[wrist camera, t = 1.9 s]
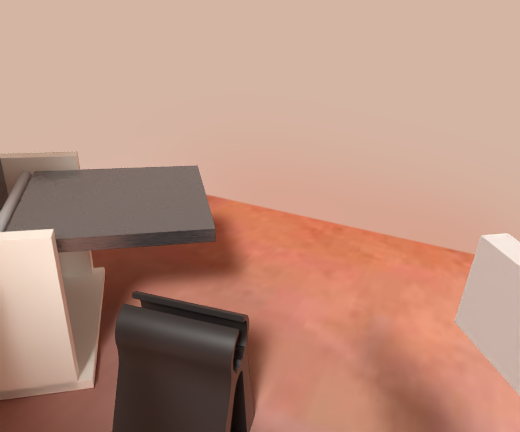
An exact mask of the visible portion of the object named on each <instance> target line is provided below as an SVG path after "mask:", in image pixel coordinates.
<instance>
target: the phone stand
mask: <svg viewBox="0 0 520 432" xmlns="http://www.w3.org/2000/svg"><path fill="white" fill-rule="evenodd" d="M132 298H135V299H139V300H140V301H141V306H142V308H141V307H137V306H132V305H128V304H123V306H122V308H121V310H120V313H119V316H118V319H117V323H116V330H115V340H116V345H117V348H118V355H119V369H118V379H117V390H116V400H115V410H114V421H113V431H112V432H249V431H250V428H251V425H252V422H253V419H254V413H255V412H254V404H253V395H252V387H251V379H250V370H249V362H248V353H247V341H248V330H249V318H248V315H244V314H240V313H235V312H231V311H226V310H221V309H217V308H212V307H207V306H203V305H198V304H194V303H189V302H184V301H180V300H175V299H171V298H166V297H161V296H157V295H152V294H147V293H143V292H138V291H135V292H133V295H132Z"/></svg>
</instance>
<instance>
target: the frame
mask: <svg viewBox="0 0 520 432" xmlns="http://www.w3.org/2000/svg"><path fill="white" fill-rule="evenodd" d="M0 159H1V164H2V168H3V173H4V177H5V182H6V186H7V191H8V195H9V197H8V198H7V200H6V202H5V204H4V206H3V208H2V209H1V211H0V400H5V399H13V398H20V397H28V396H35V395H43V394H50V393H58V392H65V391H73V390H80V389H88V388H94V380H95V370H96V361H97V351H98V341H99V331H100V322H101V312H102V302H103V292H104V282H105V267H98V268H93V260H92V253H91V250H89V251H75V252H62V253H58V251H57V245H56V239H55V234H54V229H43V230H27V231H11V232H6V230H7V228H8V226H9V224H10V222H11V220H12V218H13V216H14V213H15V211H16V209H17V207H18V205H19V203H20V201H21V199H22V197H23V195H24V193H25V191H26V189H27V187H28V184H29V182H30V180H31V178H32V176H33V174H34V172H35V171H59V170H80V166H79V159H78V152H52V153H15V154H0Z"/></svg>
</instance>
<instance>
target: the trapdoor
mask: <svg viewBox="0 0 520 432" xmlns="http://www.w3.org/2000/svg"><path fill="white" fill-rule="evenodd" d="M8 197H9V195H8V191H7V186H6V182H5V177H4V173H3V168H2V164H1V159H0V211H1V209H2V208H3V206H4V204H5V202H6V200H7V198H8ZM43 229H54V234H55V239H56V245H57V251H58V253H62V252H75V251H89V250H103V249H117V248H131V247H145V246H159V245H173V244H187V243H201V242H215V235H216V228H215V225H214V221H213V218H212V214H211V211H210V208H209V204H208V201H207V197H206V194H205V190H204V187H203V183H202V180H201V176H200V173H199V169H198V166H173V167H145V168H119V169H118V168H116V169H91V170H90V169H88V170H59V171H35V172H34V174H33V176H32V178H31V180H30V182H29V184H28V187H27V189H26V191H25V193H24V195H23V197H22V199H21V201H20V203H19V205H18V207H17V209H16V211H15V213H14V216H13V218H12V220H11V222H10V224H9V226H8V228H7V230H6V232H11V231H27V230H43Z"/></svg>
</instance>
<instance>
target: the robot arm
mask: <svg viewBox="0 0 520 432" xmlns="http://www.w3.org/2000/svg"><path fill="white" fill-rule="evenodd" d="M454 322H455V323H456V324H457V325H458V326H459V328H460V329H461V330H462V331H463V332H464V333H465V334H466V336H467V337H468V338H469V339H470V340H471V341H472V342H473V343H474V345H475V346H476V347H477V348H478V349H479V350H480V351H481V353H482V354H483V355H484V356H485V357H486V358H487V359H488V360H489V362H490V363H491V364H492V365H493V366H494V367H495V368H496V370H497V371H498V372H499V373H500V374H501V375H502V376H503V378H504V379H505V380H506V381H507V382H508V383H509V384H510V385H511V387H512V388H513V389H514V390H515V391H516V392H517V393H518V395H519V396H520V242H519V241H517V240H516V239H515V238H513V237H512V236H510V235H509V234H508V233H505V234H493V235H482V236H481V237H480V241H479V244H478V247H477V250H476V254H475V257H474V260H473V263H472V266H471V270H470V273H469V276H468V279H467V282H466V286H465V289H464V292H463V295H462V299H461V302H460V305H459V308H458V311H457V315H456V318H455V321H454Z"/></svg>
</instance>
